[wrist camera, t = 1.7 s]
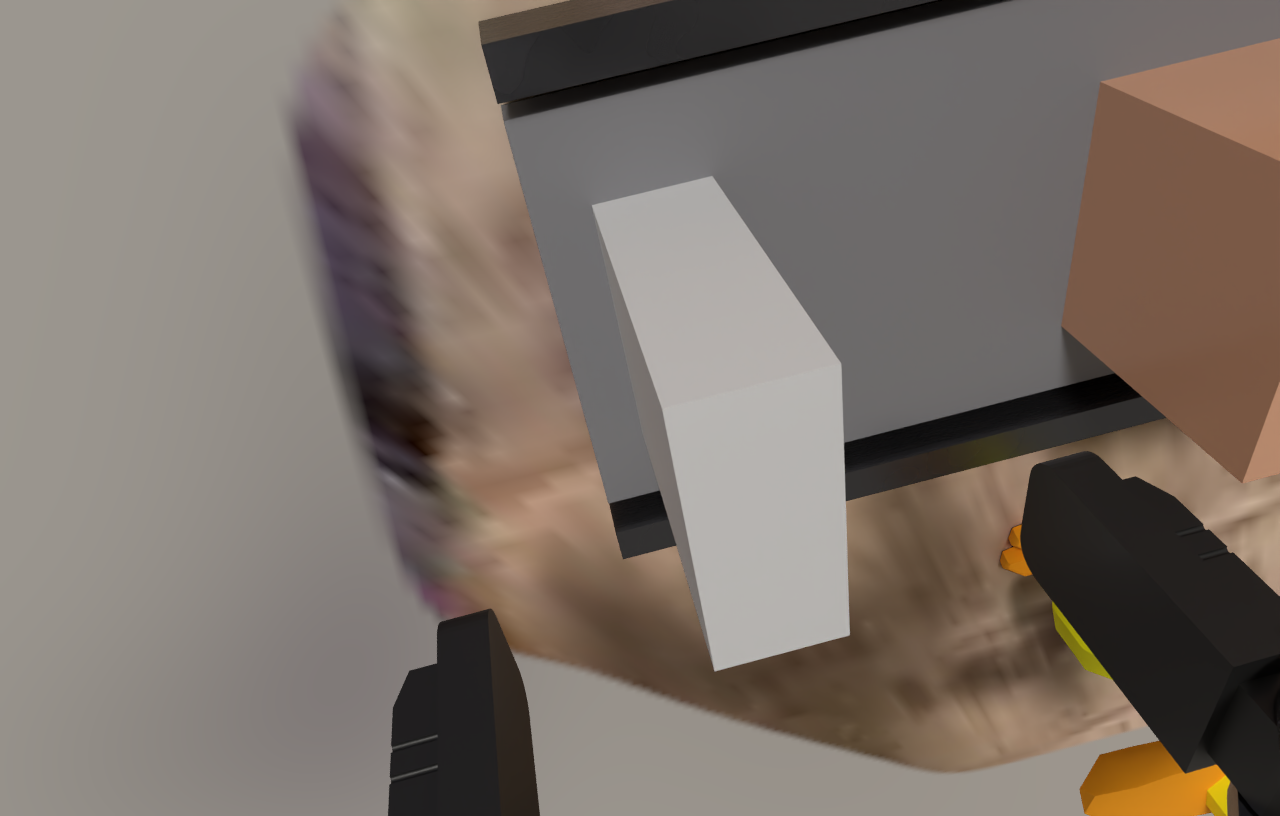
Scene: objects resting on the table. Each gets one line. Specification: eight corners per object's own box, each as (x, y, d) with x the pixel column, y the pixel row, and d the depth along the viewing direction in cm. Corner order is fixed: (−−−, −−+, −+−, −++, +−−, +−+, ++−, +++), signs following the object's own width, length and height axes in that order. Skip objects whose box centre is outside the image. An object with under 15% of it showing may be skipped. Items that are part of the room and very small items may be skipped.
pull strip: (1547, -143, 17) (2191, -105, 11) (1372, 281, 23) (1718, 464, 17) (501, 104, 16) (533, 303, 10) (602, 478, 22) (663, 749, 16)
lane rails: (1575, -234, 16) (1682, -237, 15) (1347, 322, 24) (1404, 355, 23) (478, 21, 16) (481, 45, 14) (612, 512, 23) (622, 559, 22)
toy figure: (921, 591, 28) (1161, 999, 19) (943, 513, 26) (1228, 929, 17) (1103, 564, 29) (1420, 938, 20) (1138, 487, 27) (1514, 865, 17)
